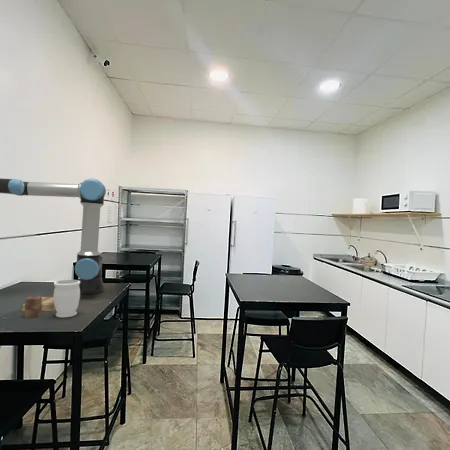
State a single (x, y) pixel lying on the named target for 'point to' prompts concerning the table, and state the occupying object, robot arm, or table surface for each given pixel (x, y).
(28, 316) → the block
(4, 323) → the table surface
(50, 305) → the base
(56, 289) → the jar
